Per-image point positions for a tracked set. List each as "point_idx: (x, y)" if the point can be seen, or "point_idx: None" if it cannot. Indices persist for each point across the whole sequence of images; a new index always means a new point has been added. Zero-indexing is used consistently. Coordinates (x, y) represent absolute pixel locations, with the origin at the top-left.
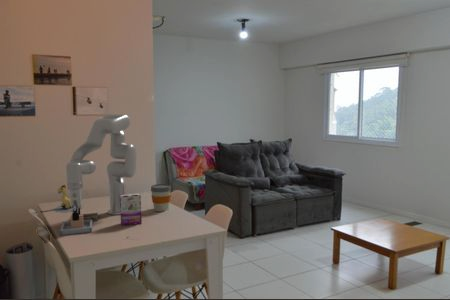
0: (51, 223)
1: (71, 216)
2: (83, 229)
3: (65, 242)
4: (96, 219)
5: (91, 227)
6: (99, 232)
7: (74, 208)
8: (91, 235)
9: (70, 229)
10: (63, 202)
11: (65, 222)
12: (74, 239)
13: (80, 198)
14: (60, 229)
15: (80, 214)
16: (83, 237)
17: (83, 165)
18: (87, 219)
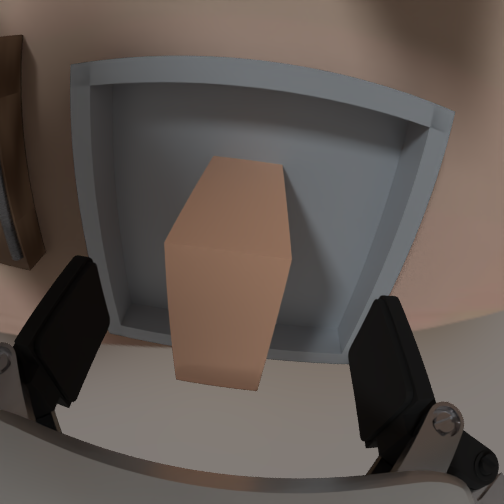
0: None
1: (247, 383)
2: (424, 192)
3: (492, 304)
4: (12, 44)
5: (437, 104)
6: (462, 40)
7: (497, 494)
8: (499, 132)
9: None
10: None
11: (119, 321)
12: (491, 260)
13: None
14: (323, 362)
15: (167, 283)
16: (500, 200)
17: None
18: (8, 130)
